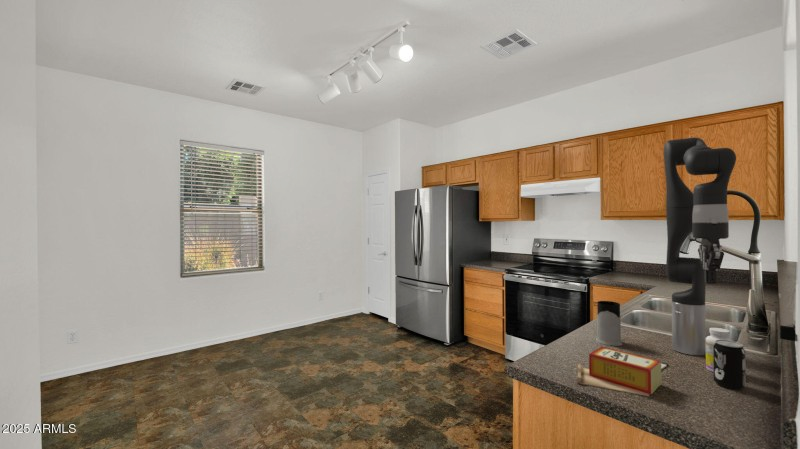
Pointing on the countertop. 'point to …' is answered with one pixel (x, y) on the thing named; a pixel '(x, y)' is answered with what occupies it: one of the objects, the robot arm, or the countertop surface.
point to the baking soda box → (625, 369)
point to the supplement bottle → (710, 341)
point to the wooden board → (602, 382)
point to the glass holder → (609, 323)
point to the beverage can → (729, 364)
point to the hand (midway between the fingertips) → (710, 283)
